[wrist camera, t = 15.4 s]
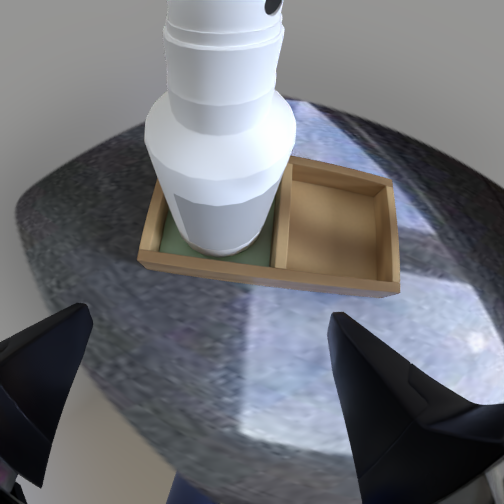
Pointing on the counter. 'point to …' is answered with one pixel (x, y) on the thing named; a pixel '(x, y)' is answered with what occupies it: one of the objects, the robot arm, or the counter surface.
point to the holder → (298, 236)
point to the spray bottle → (221, 121)
